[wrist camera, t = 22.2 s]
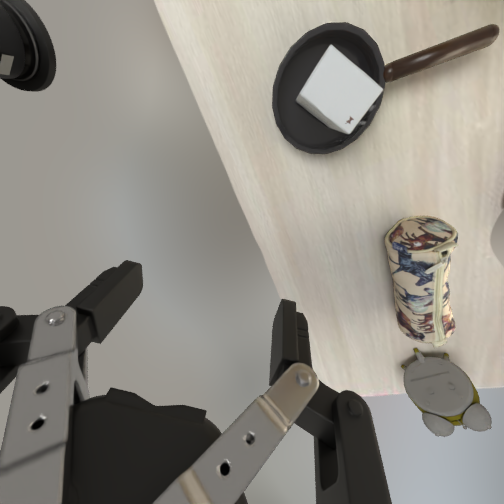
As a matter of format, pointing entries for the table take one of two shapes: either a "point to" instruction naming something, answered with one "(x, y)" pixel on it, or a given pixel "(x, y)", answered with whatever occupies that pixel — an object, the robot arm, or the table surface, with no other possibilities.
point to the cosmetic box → (338, 92)
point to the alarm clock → (444, 395)
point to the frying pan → (299, 70)
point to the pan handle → (441, 53)
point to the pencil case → (422, 277)
